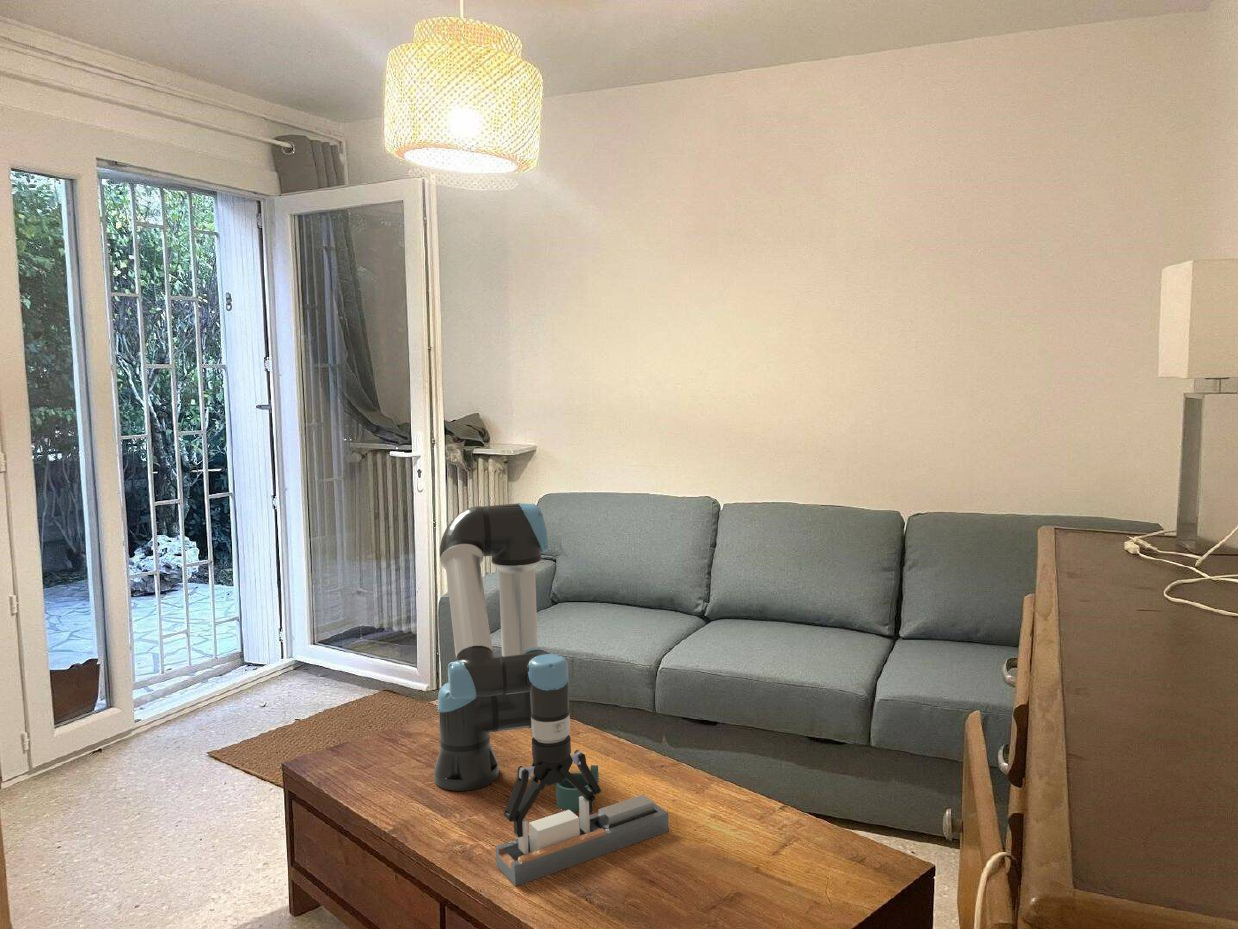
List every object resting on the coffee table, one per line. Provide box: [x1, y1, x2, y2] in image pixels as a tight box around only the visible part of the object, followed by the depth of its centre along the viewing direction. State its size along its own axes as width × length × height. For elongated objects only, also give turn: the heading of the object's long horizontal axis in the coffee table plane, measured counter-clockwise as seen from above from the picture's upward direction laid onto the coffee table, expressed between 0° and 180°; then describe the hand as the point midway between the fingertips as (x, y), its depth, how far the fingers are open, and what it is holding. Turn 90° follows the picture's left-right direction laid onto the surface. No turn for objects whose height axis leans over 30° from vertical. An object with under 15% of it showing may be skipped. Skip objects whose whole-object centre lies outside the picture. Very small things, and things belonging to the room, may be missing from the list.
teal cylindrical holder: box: [552, 764, 600, 813], centre depth 199 cm, size 9×9×9 cm
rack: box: [495, 794, 670, 887], centre depth 180 cm, size 8×35×6 cm, turn 122°
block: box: [528, 810, 580, 853], centre depth 176 cm, size 4×9×8 cm, turn 123°
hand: (554, 840), depth 176 cm, fingers open, 13 cm apart
